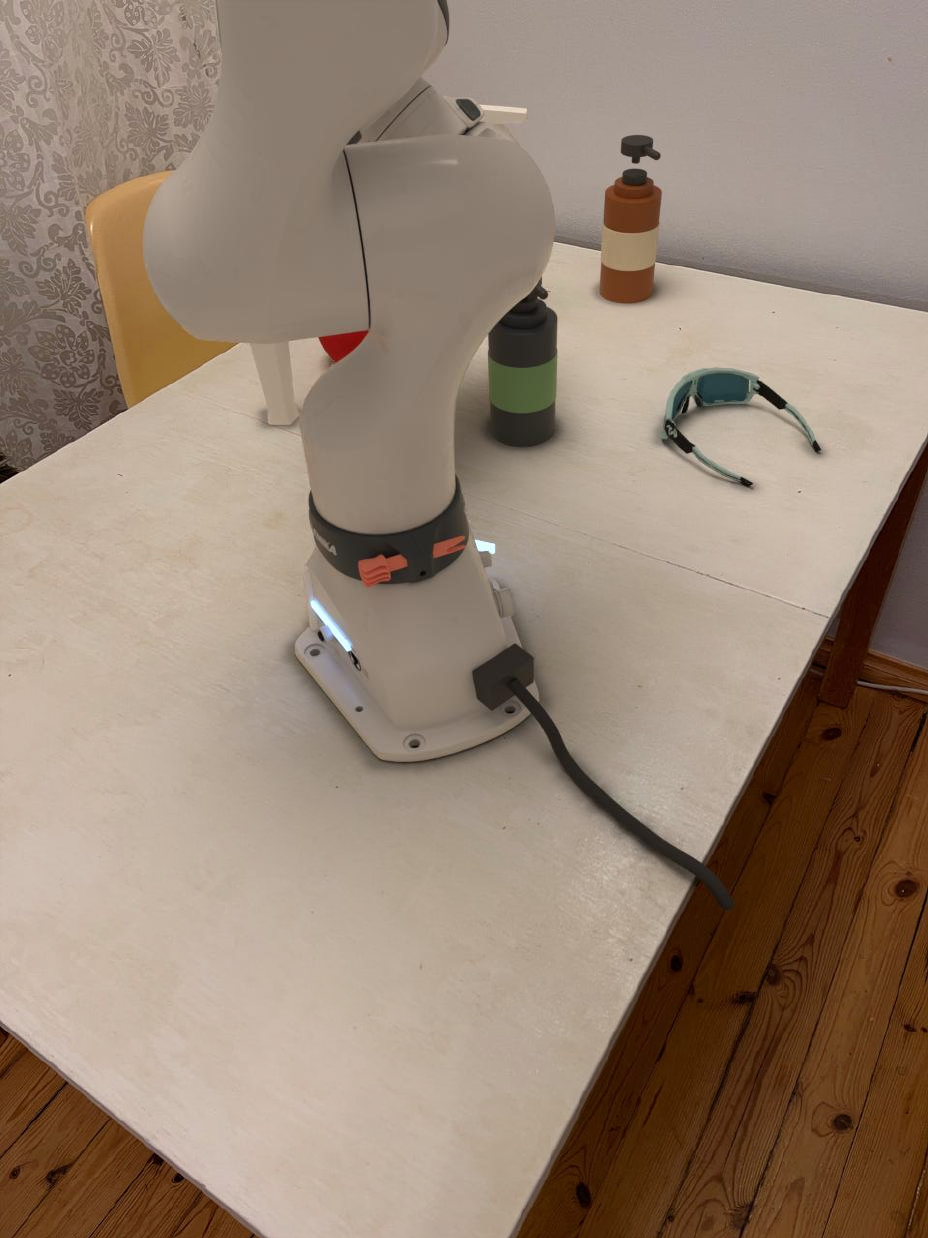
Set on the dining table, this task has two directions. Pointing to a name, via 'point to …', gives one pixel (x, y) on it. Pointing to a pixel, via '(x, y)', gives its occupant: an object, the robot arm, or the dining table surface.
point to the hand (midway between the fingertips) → (521, 264)
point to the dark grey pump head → (638, 147)
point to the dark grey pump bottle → (523, 374)
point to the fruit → (341, 344)
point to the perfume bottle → (276, 381)
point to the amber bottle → (630, 237)
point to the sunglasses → (719, 390)
